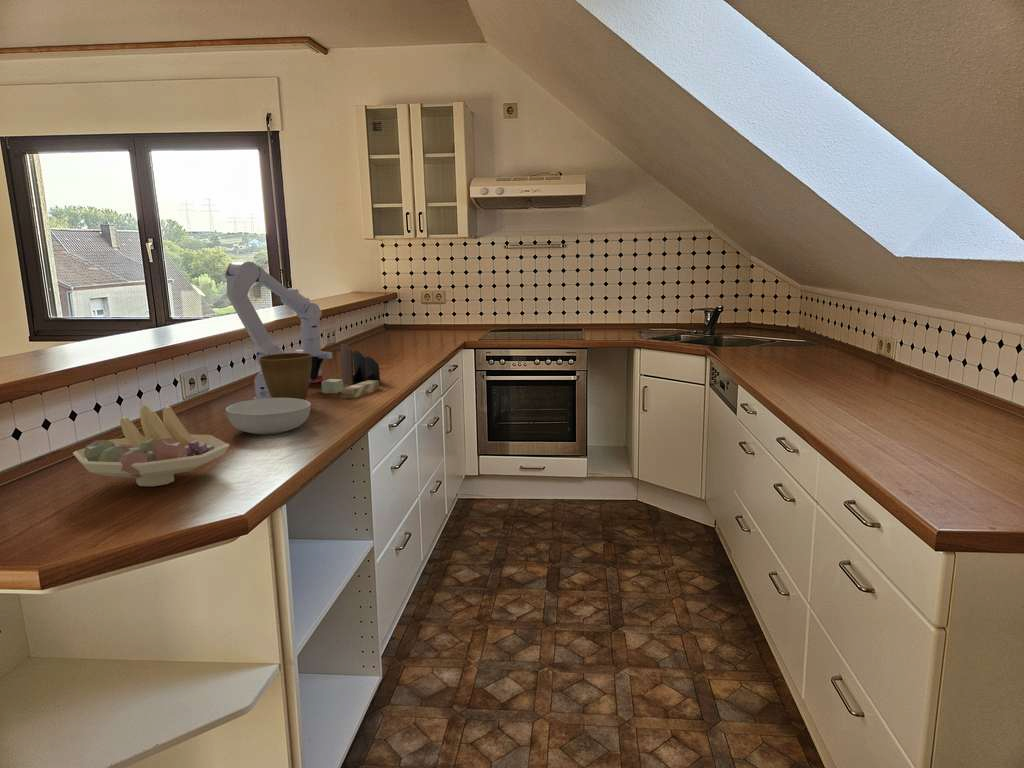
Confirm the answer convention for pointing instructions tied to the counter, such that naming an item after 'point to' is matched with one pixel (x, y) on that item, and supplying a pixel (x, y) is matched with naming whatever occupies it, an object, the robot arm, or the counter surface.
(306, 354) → the plant pot
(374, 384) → the board
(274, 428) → the serving bowl
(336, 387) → the block
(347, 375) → the letter holder
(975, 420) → the counter surface
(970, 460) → the counter surface
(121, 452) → the dish with food
